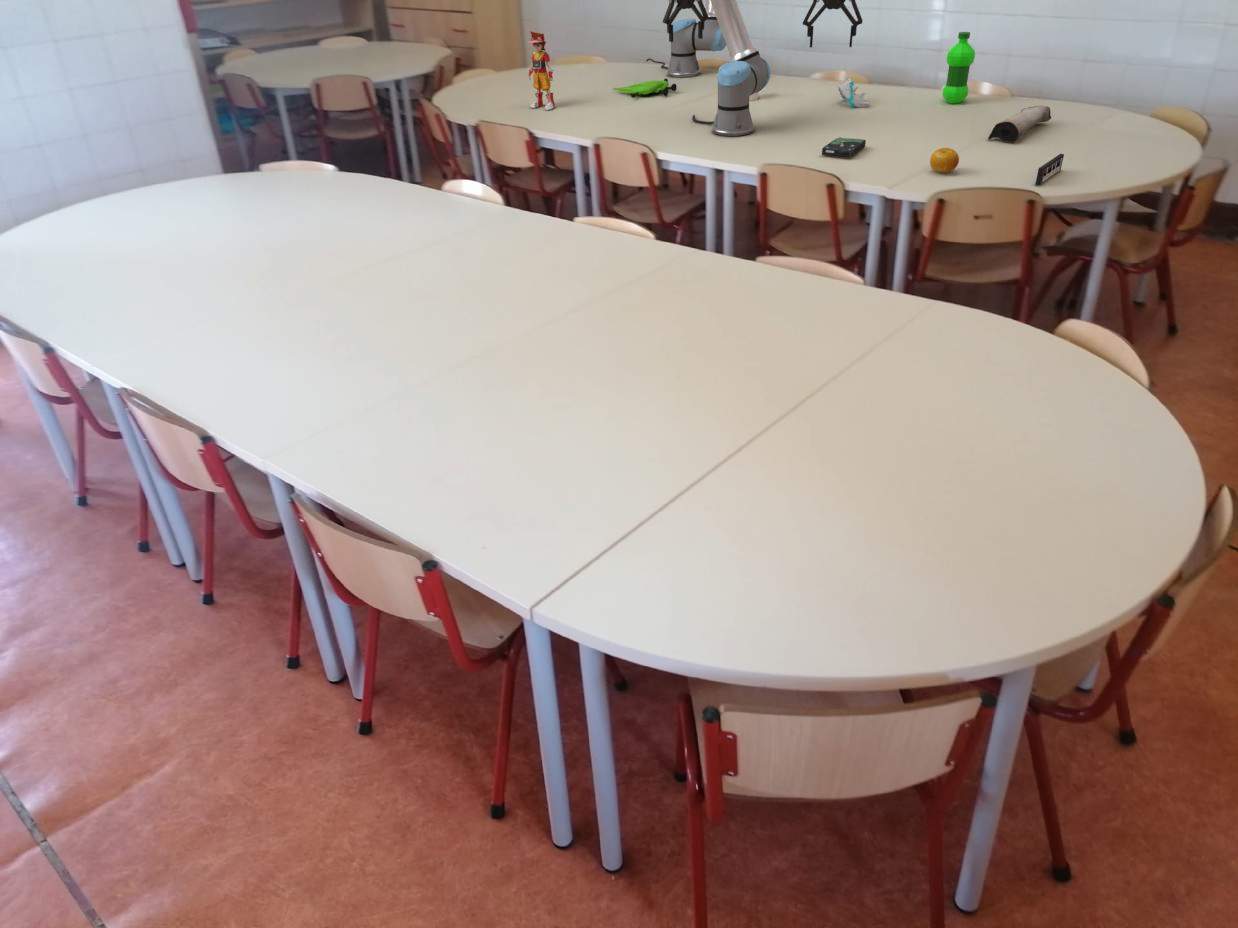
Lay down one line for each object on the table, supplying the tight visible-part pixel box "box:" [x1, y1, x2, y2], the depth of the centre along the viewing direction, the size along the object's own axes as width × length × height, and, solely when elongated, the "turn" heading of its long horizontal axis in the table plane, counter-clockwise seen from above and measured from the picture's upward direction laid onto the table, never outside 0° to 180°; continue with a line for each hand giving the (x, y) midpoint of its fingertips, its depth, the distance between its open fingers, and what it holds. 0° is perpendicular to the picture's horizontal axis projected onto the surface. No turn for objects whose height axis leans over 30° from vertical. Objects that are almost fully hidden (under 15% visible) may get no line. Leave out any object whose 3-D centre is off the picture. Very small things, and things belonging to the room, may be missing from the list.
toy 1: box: [527, 31, 556, 111], centre depth 374 cm, size 12×9×30 cm
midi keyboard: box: [1035, 153, 1065, 186], centre depth 273 cm, size 18×1×5 cm, turn 138°
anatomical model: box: [837, 78, 871, 108], centre depth 358 cm, size 15×10×10 cm
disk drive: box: [821, 136, 867, 159], centre depth 307 cm, size 10×3×15 cm
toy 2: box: [612, 78, 677, 99], centre depth 396 cm, size 28×5×30 cm
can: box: [749, 92, 759, 102], centre depth 375 cm, size 7×7×9 cm
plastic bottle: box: [942, 31, 976, 104], centre depth 348 cm, size 10×10×25 cm
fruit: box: [929, 147, 960, 174], centre depth 283 cm, size 8×8×8 cm
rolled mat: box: [987, 105, 1052, 144], centre depth 315 cm, size 30×9×10 cm
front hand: (830, 47), depth 315 cm, fingers open, 13 cm apart
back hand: (685, 40), depth 380 cm, fingers open, 13 cm apart
